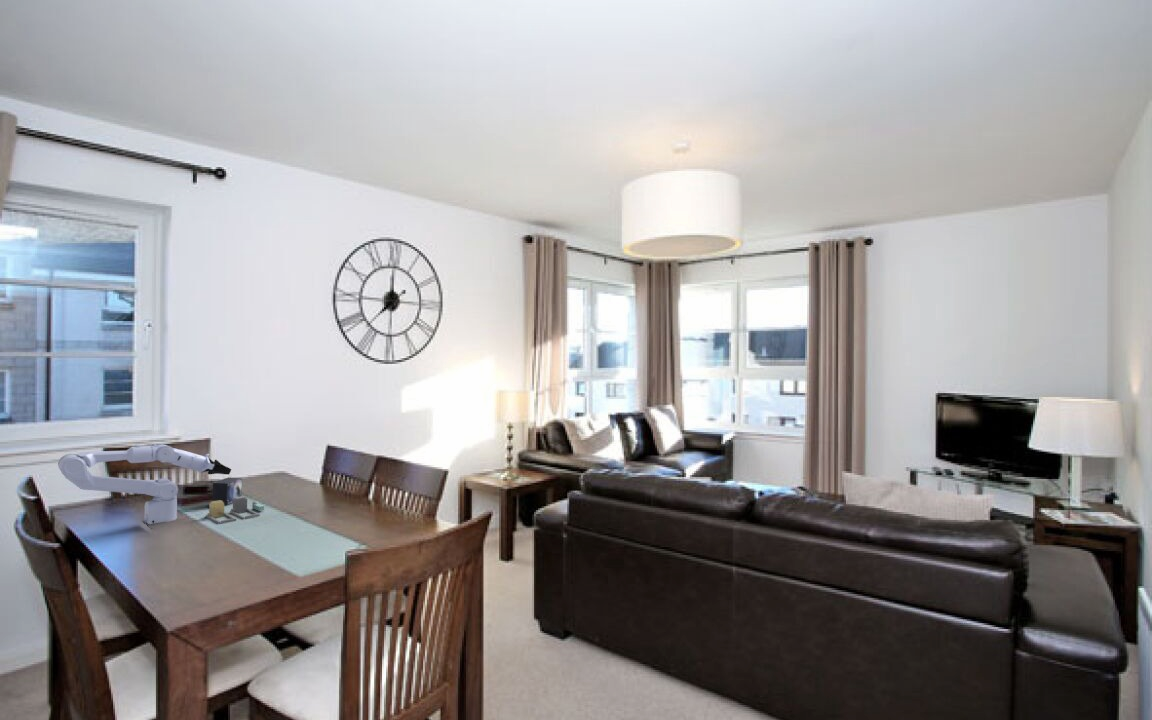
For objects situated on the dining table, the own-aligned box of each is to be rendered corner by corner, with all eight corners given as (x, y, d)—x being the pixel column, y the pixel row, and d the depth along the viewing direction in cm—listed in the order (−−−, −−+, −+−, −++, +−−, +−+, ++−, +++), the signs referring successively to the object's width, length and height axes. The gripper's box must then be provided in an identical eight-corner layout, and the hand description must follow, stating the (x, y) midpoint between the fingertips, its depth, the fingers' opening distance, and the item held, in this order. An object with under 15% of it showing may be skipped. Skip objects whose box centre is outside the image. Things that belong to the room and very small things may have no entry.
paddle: (258, 512, 223) (258, 505, 223) (251, 509, 228) (251, 502, 228) (264, 511, 225) (264, 504, 225) (257, 508, 229) (257, 501, 229)
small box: (227, 509, 232) (227, 483, 232) (211, 508, 232) (211, 482, 232) (242, 502, 243) (243, 477, 243) (227, 502, 243) (227, 477, 243)
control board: (209, 530, 205) (209, 523, 205) (194, 521, 216) (194, 515, 216) (274, 517, 222) (275, 511, 222) (257, 509, 232) (257, 503, 232)
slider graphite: (235, 513, 221) (235, 499, 221) (232, 512, 223) (232, 497, 223) (247, 511, 224) (247, 497, 224) (244, 510, 226) (244, 495, 226)
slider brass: (212, 518, 215) (212, 503, 215) (209, 516, 217) (209, 501, 217) (224, 515, 218) (224, 501, 218) (221, 514, 220) (221, 499, 220)
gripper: (200, 451, 215) (237, 462, 224) (189, 448, 224) (225, 459, 233) (191, 470, 212) (229, 480, 221) (180, 466, 222) (217, 476, 231)
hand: (226, 470), depth 227 cm, fingers open, 7 cm apart
